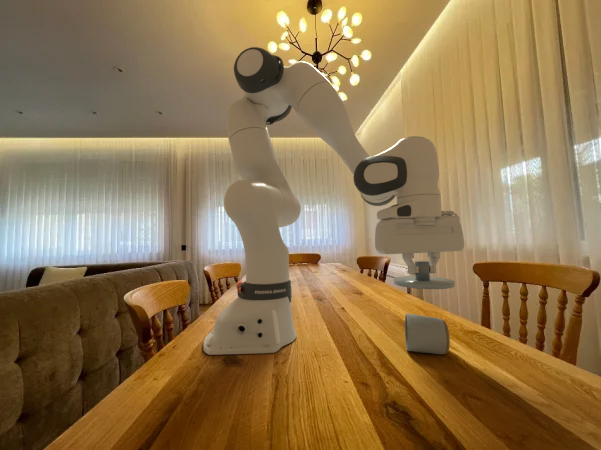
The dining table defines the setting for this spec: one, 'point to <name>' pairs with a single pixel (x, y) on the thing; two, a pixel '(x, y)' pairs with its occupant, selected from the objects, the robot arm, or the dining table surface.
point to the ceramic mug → (426, 334)
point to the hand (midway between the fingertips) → (422, 273)
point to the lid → (424, 279)
